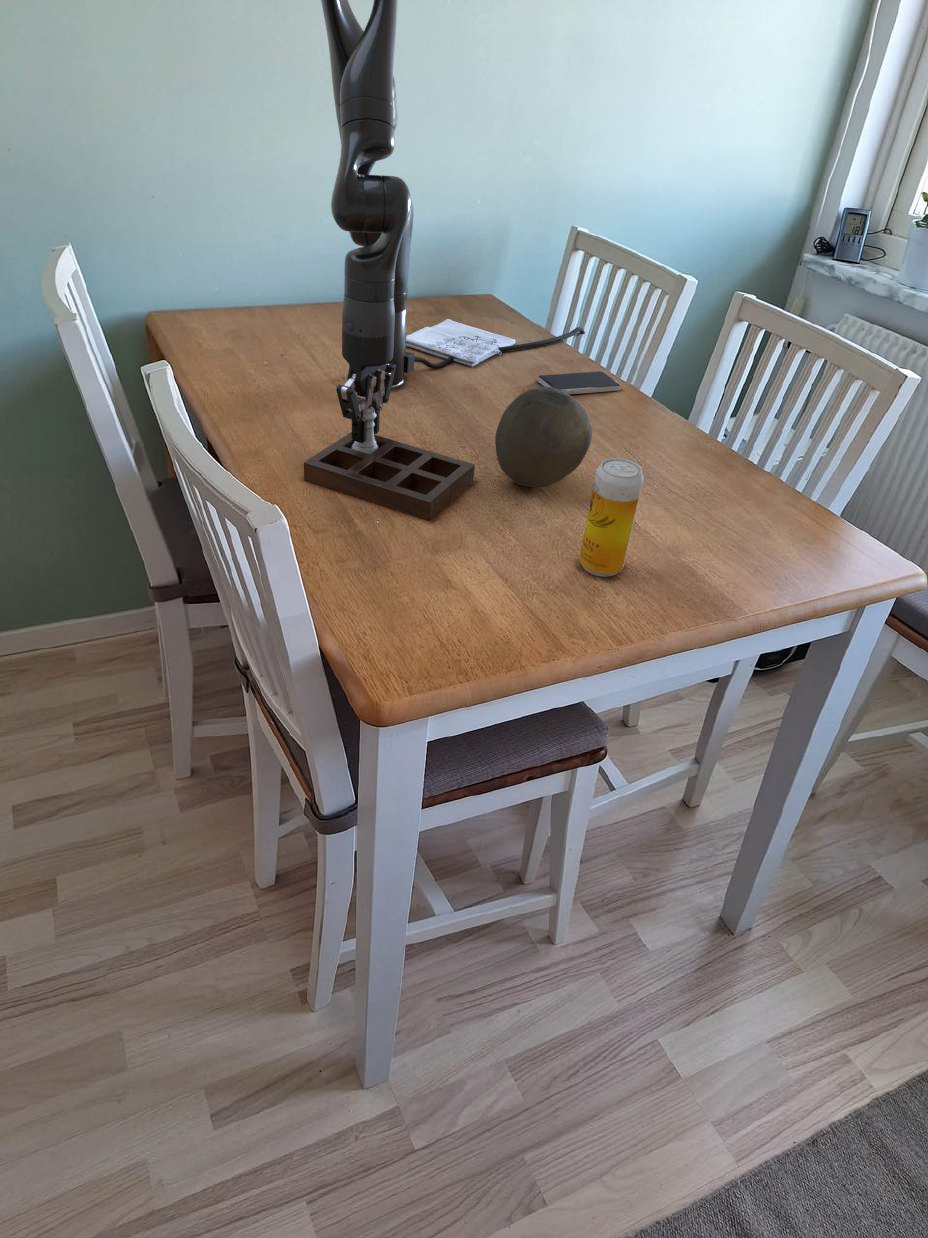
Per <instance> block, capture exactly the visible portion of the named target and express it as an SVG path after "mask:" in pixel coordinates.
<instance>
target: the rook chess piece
mask: <svg viewBox="0 0 928 1238" xmlns="http://www.w3.org/2000/svg"><path fill="white" fill-rule="evenodd" d="M359 410H360V412H361V405H359ZM376 416H377V415H376V413H375V412H374V409H373V407H370V409H369V406H368V412H367V418H366V420H367V434H366V441H365V442H364V443H360V442H356V441H355V442H354V443H353V445H352V449H354V450H357V451H361V452H364V453H367V454H371V453H373V452H374V451H376V450H377V449H379V447H378V445H377V444H376V441H375V438H374V435H375V434H374V426H375V423H374V421H373V420H374V419H375V418H376Z"/></svg>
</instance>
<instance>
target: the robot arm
mask: <svg viewBox="0 0 928 1238" xmlns="http://www.w3.org/2000/svg"><path fill="white" fill-rule="evenodd" d="M320 2H321V8H322V14H323V18H324V24H325V31H326V37H327V42H328V50H329V51H328V52H329V61H330V72H331V81H332V82H331V83H332V91H333V99H334V108H335V115H336V121H337V127H338V133H339V138H340V146H341V147H340V157H339V162H338V164H339V165H338V168H337V172H336V177H335V181H334V185H333V190H332V194H331V200H330V209H331V215H332V218H333V220H334V222H335V223H336V225H337V226H338V227H339V228H340V229H341V230H342V231H345V232H348V233H349V236H350V238H351V241H352V242H353V243H354V244H355V245H357V246H360V247H357V248H355V249H354V248H353V249H350V250H349V251H348V252H347V253H346V255H345V258H344V266H343V267H344V269H343V270H344V271H343V273H344V276H343V277H344V279H343V280H344V281H343V282H344V283H343V284H344V287H343V288H344V289H343V300H342V301H343V302H342V309H341V355H342V358H343V359H344V360H345V361H346V363H347V364H348V371H347V377H346V379H347V381H346V382H345V383H344V385H341V384H337V386H336V388H335V391H336V395H337V398H338V403H339V407H340V410H341V414H342V417H343V418H346V419H348V420H351V432H352V439H353V440H354V441H356V442H360V443H364V442H365V441H366V434H367V420H366V418H367V412H368V406H369V409H370V407H373V409H374V412H375V413H376V415H377V416H376V418H375V419H374V420H373V421H374V423H375V426H374V435H377V434H378V433H379V432H380V419H381V417H380V415H381V411H382V410H383V408H384V404H388V403H389V400H390V397H391V391H392V390H396V389H398V388H400V387H402V386H403V384H404V379H405V374H410V372H413V371H414V370H415V362H416V363H421V364H423V365H425V366H426V367H428V368H430V369H440V368H443V367H446V366H447V365H448V364H450V363H452V362H454V361H453V360H454V357H452V356H451V357H449V358H447V359H444V360H442V361H440V362H437V363H435V362H431V361H430V360H428V359H426V358H425V357H421V356H416V354H415V353H413V352H410V351H406V349H407V346H406V336H407V329H406V328H407V307H408V306H407V305H408V291H409V290H408V287H409V275H410V273H409V272H410V256H411V245H412V237H413V229H414V227H413V226H414V203H413V200H412V196H411V195H412V194H411V191H410V188H409V186H408V184H407V183H406V181H405V180H403V179H402V178H401V177H399V176H395V175H385V174H384V175H383V174H382V175H381V174H380V175H379V174H371V172H372V170H373V169H374V166H375V164H376V163H377V162H378V161H381V160H386V159H388V158H389V157H390V156H391V155H392V154H393V153H394V151H395V145H396V135H395V132H396V128H397V125H398V105H397V92H396V91H397V90H396V89H397V88H396V81H395V77H394V61H395V51H396V50H395V48H396V39H397V37H396V36H397V21H398V4H399V3H398V2H399V0H373V4H372V8H371V12H370V15H369V18H368V21H367V23H366V26H365V27H364V29H363V28H362V26H361V24H360V22H359V21H358V19H357V18H356V16H355V14H354V12H353V10H352V7H351V5H350V2H349V0H320ZM577 333H580V334H582V335H585V334H586V331H585V329H584V328H583V327H582V326H577V327H575V328H574V329H572V330H571V331H570V332H567V333H564V334H561V335H558V336H555V337H551V338H547V339H543V340H538V341H532V342H526V343H519V344H514V345H512V346H505V347H499V348H498V350H499V351H500V352H501V353H502V352H510V351H517V350H523V349H529V348H535V347H540V346H545V345H549V344H554V343H556V342H559V341H563V340H566V339H569V338H571V337H573V336H574V335H576V334H577ZM500 352H499V353H500ZM360 406H361V412H360V410H359V408H360Z"/></svg>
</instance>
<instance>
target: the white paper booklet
mask: <svg viewBox="0 0 928 1238" xmlns="http://www.w3.org/2000/svg"><path fill="white" fill-rule="evenodd" d="M512 345H516V339H514V338H510V337H507V336H505V335H502V334H497V333H494V332H490V331H487V330H484V329H481V328H477V327H473V326H470V325H467V324H464V323H461V322H457V321H454V320H452V319H450V318H446V319H445V320H443V321H441V322H439V323H438V324H435V325H433V326H430V327H429V326H425V327H423V328H421V329H418V330H415V331H414V332H412V333H410V334H406V347H408V348H411V349H414V350H417V351H421V352H424V353H426V354H430V355H432V356H435V357H438V358H442V359H444V360H446V359H447V358H449V357H451V356H452V357H454V360H453V361H452V362H455V363H459V364H462V365H465V366H468V367H471V368H473V367H474V366H476V365H478V364H479V363H481V362H483V361H485V360H487V359H488V358H490V357H493V356H494V355H498V356H502V352H500V351H499V350H498V348H499V347H505V346H512Z"/></svg>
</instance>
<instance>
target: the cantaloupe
mask: <svg viewBox="0 0 928 1238" xmlns="http://www.w3.org/2000/svg"><path fill="white" fill-rule="evenodd" d="M494 436H495V438H494V443H495V444H494V446H495V454H496V458H497V463H498V465H499V467H500V469H501V471H502V472H503V473H504V474H505V475H506V476H507V477H508V478H509V479H510V480H512V481H513V482H514V483H516V484H518V485H519V486H522V487H527V488H543V487H548V486H551V485H553V484H556V483H559V482H560V481H562V480H564V479H565V478H566V477H568V476H569V475H571V473H573V472H575V470H577V468H578V467H579V466H580V465H581V463H582V462H583V460H584V458H585V457H586V455H587V454H588V453H587V452H589V449H590V446H591V444H592V443H591V442H592V439H593V428H592V422H591V419H590V416H589V414H588V412H587V410H586V409H585V407H584V406H583V405H582V404H581V402H579V401H578V400H577V399H576V398H575V397H574V396H572V395H571V394H567V393H566V392H564V391H562V390H559V389H556V388H552V387H544V386H541V387H536V388H531V389H528V390H526V391H523V392H522V393H520V394H519V395H518V396H517V397H516V398H515V399H513V400H512V402H511V403H510V404H509V405H508V406H507V407H506V408H505V409H504V411H503V413H502V415H501V416H500V420H499V422H498V424H497V428H496V431H495V435H494Z"/></svg>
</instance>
